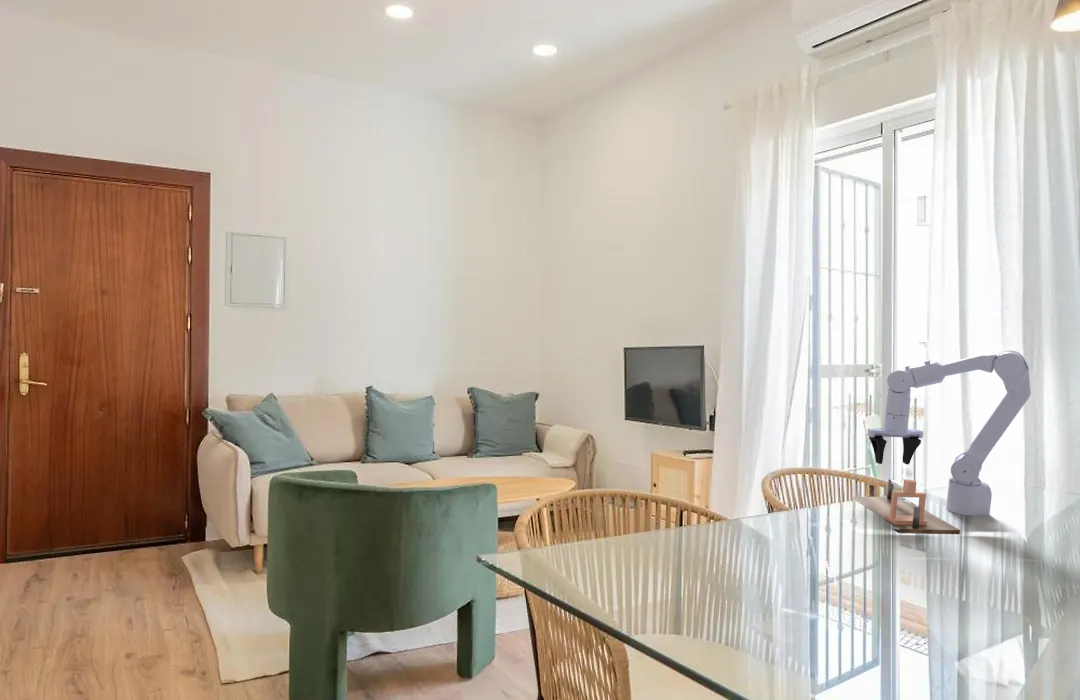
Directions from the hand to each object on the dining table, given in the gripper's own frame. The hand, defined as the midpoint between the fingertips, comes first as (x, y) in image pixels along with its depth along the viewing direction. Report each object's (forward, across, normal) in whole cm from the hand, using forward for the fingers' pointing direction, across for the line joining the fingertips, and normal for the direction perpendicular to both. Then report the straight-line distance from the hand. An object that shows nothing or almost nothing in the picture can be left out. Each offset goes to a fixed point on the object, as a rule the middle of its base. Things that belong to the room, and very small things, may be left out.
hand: (892, 463), depth 202 cm
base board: (+10, +4, +13) cm, 17 cm away
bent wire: (+10, +4, +13) cm, 17 cm away
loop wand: (+9, +7, +20) cm, 23 cm away
